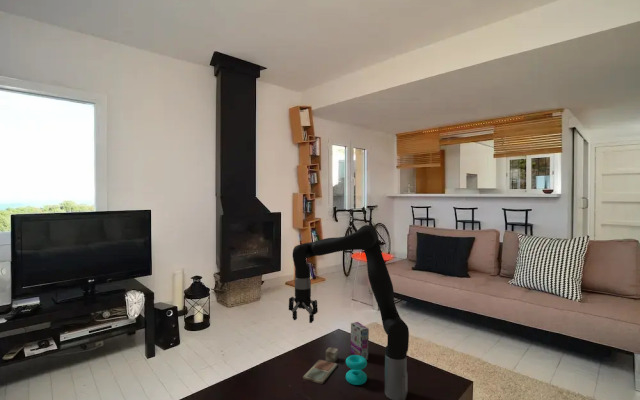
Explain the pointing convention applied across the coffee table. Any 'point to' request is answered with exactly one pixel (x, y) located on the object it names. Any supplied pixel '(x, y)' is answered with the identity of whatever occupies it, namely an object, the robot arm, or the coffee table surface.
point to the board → (320, 371)
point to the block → (331, 354)
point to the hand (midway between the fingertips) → (303, 321)
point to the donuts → (356, 369)
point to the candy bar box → (359, 340)
